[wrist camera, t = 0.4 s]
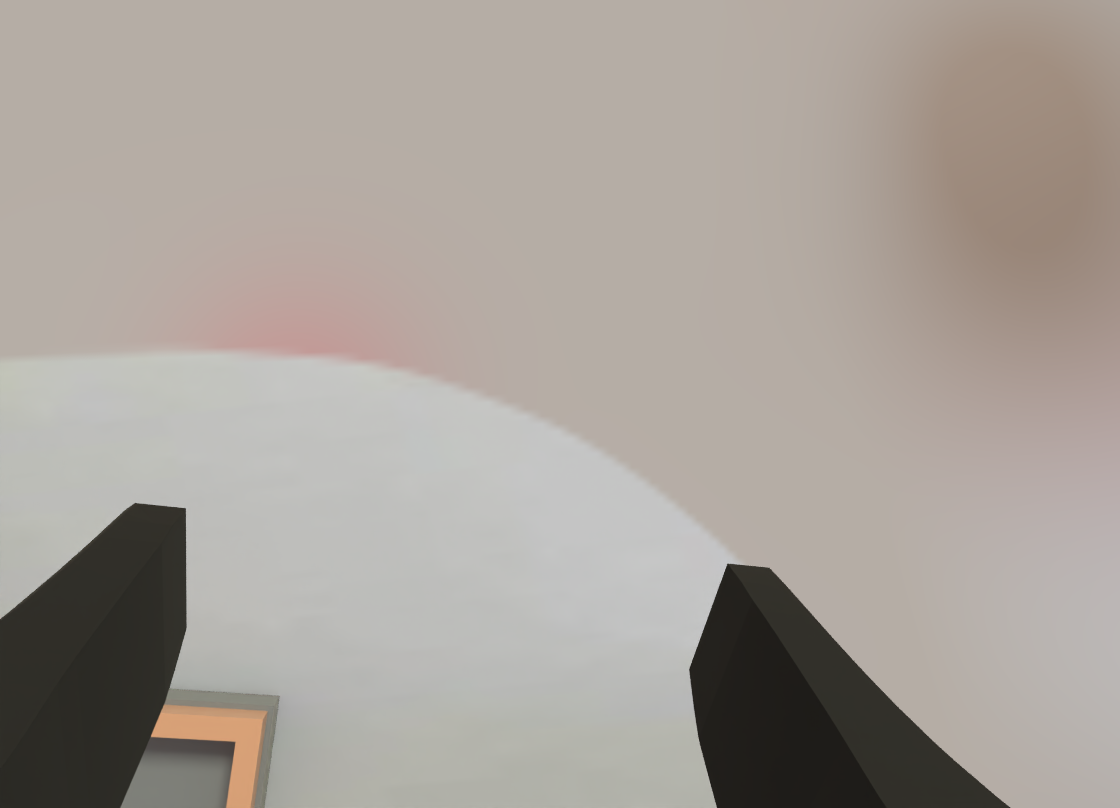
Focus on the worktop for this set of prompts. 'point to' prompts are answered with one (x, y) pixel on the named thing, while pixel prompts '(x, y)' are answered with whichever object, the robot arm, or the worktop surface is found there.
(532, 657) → the worktop surface
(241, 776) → the base
